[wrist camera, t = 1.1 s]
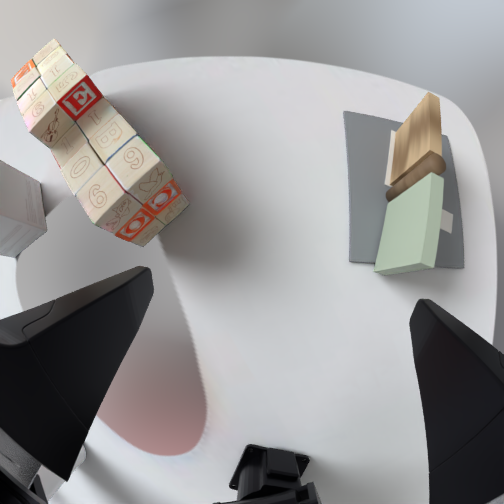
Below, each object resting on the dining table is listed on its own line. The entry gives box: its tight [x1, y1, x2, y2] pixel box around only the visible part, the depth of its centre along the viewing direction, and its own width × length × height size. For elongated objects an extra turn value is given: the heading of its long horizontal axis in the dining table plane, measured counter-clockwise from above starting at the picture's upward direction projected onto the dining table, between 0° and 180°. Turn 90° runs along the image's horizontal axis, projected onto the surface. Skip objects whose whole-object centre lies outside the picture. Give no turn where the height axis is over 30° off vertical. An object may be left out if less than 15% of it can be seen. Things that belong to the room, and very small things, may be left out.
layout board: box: [343, 111, 464, 268], centre depth 25 cm, size 16×14×1 cm
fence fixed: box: [386, 92, 446, 202], centre depth 21 cm, size 9×2×8 cm, turn 162°
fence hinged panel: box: [373, 172, 444, 276], centre depth 20 cm, size 7×1×8 cm, turn 162°
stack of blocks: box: [11, 39, 190, 247], centre depth 20 cm, size 21×6×12 cm, turn 42°
